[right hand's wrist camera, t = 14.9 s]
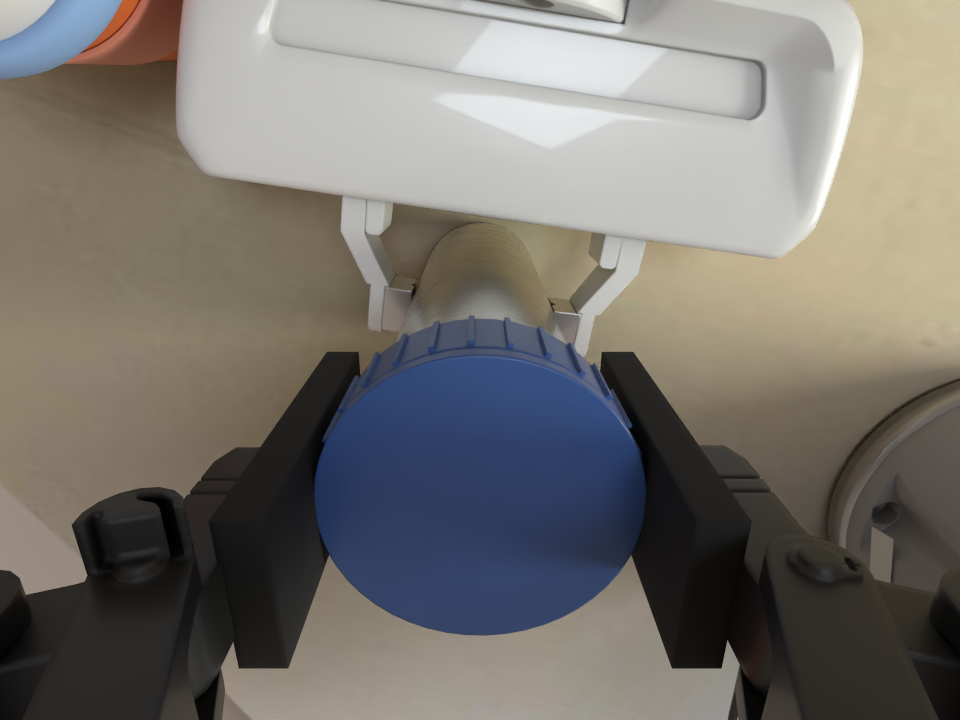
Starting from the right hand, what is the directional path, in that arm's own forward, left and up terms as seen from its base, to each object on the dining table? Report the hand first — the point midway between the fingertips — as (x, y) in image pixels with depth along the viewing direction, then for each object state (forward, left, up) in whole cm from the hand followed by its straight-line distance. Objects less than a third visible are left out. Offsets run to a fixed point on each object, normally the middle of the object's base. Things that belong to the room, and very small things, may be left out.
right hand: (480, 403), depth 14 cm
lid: (0, 0, +4) cm, 4 cm away
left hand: (+1, +1, -7) cm, 7 cm away
